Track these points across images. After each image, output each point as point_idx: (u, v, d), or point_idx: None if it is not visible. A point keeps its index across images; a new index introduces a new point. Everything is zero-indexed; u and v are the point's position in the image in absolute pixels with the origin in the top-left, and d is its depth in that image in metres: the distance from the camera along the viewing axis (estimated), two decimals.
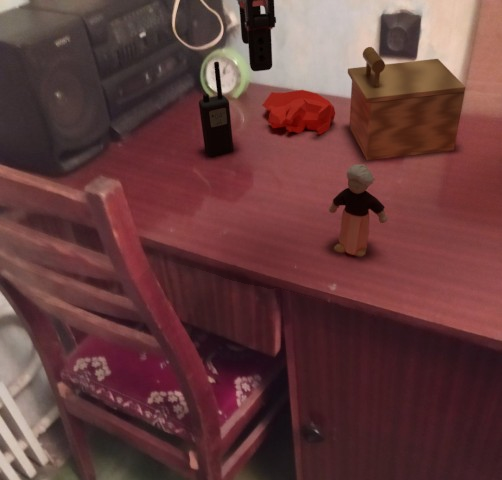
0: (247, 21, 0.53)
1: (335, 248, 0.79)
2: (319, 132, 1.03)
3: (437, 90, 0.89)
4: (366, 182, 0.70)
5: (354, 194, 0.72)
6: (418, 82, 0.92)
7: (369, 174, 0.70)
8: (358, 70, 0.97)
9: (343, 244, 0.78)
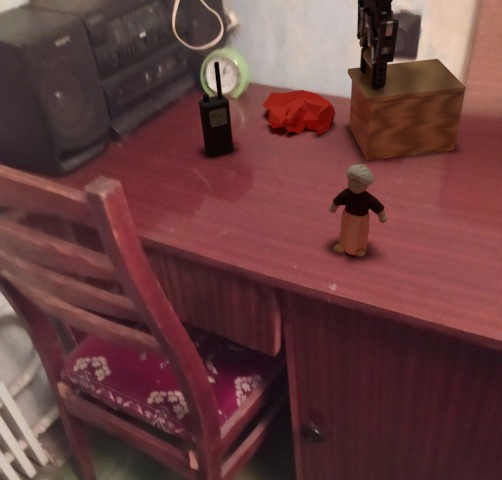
0: (376, 58, 0.85)
1: (335, 248, 0.79)
2: (319, 132, 1.03)
3: (437, 90, 0.89)
4: (366, 182, 0.70)
5: (354, 194, 0.72)
6: (418, 82, 0.92)
7: (369, 174, 0.70)
8: (358, 70, 0.97)
9: (343, 244, 0.78)
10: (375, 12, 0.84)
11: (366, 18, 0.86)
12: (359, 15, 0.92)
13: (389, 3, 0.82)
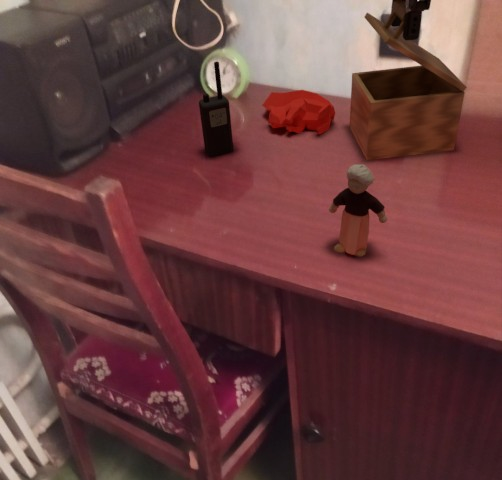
0: (411, 5, 0.81)
1: (335, 248, 0.79)
2: (319, 132, 1.03)
3: (445, 74, 0.88)
4: (366, 182, 0.70)
5: (354, 194, 0.72)
6: (429, 59, 0.89)
7: (369, 174, 0.70)
8: (376, 19, 0.92)
9: (343, 244, 0.78)
10: None
11: None
12: None
13: None
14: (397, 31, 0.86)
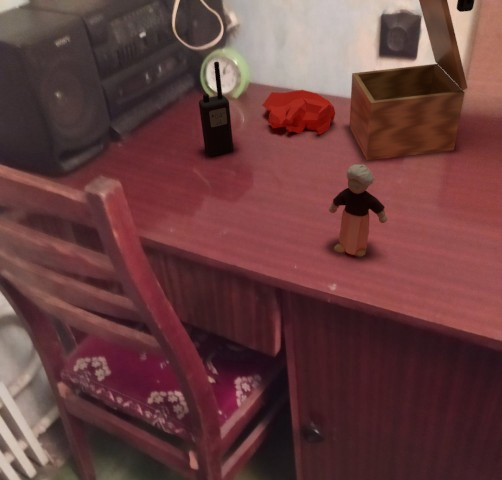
0: None
1: (335, 248, 0.79)
2: (319, 132, 1.03)
3: (461, 62, 0.87)
4: (366, 182, 0.70)
5: (354, 194, 0.72)
6: None
7: (369, 174, 0.70)
8: None
9: (343, 244, 0.78)
10: None
11: None
12: None
13: None
14: None
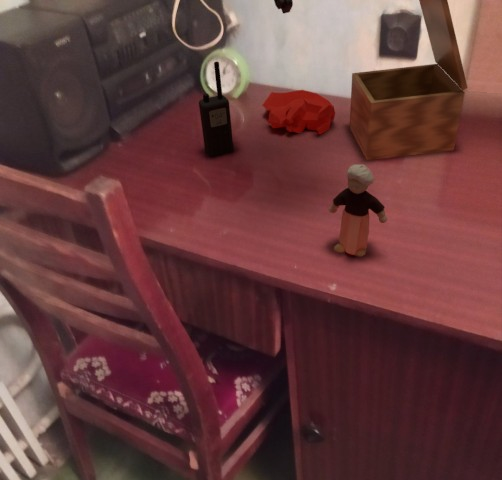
0: None
1: (335, 248, 0.79)
2: (319, 132, 1.03)
3: (461, 62, 0.87)
4: (366, 182, 0.70)
5: (354, 194, 0.72)
6: None
7: (369, 174, 0.70)
8: None
9: (343, 244, 0.78)
10: None
11: None
12: None
13: None
14: None
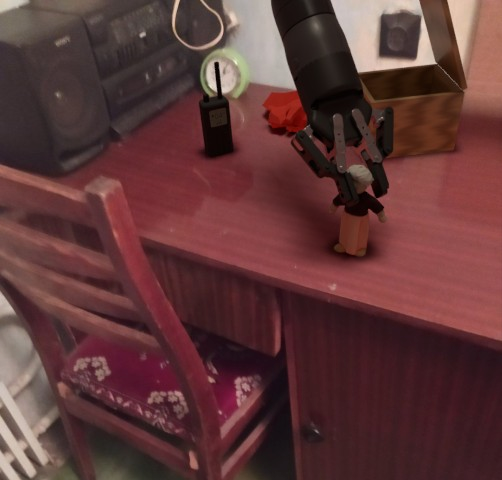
0: (390, 147, 0.71)
1: (335, 248, 0.79)
2: None
3: (461, 62, 0.87)
4: (365, 182, 0.70)
5: None
6: None
7: (368, 174, 0.70)
8: None
9: (343, 244, 0.78)
10: (362, 105, 0.71)
11: (358, 113, 0.70)
12: None
13: None
14: None
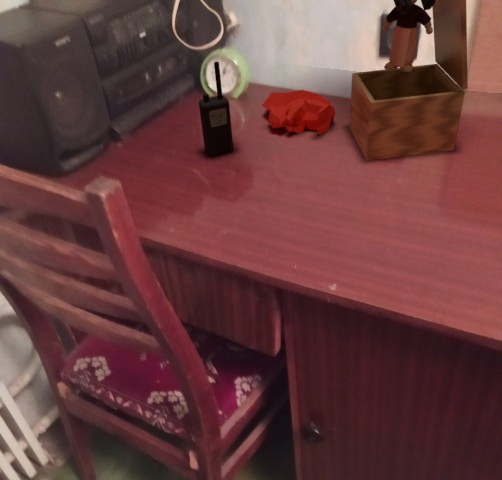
0: None
1: (386, 65, 0.92)
2: (319, 132, 1.03)
3: (466, 60, 0.86)
4: None
5: None
6: None
7: None
8: None
9: (393, 60, 0.92)
10: None
11: None
12: None
13: None
14: None
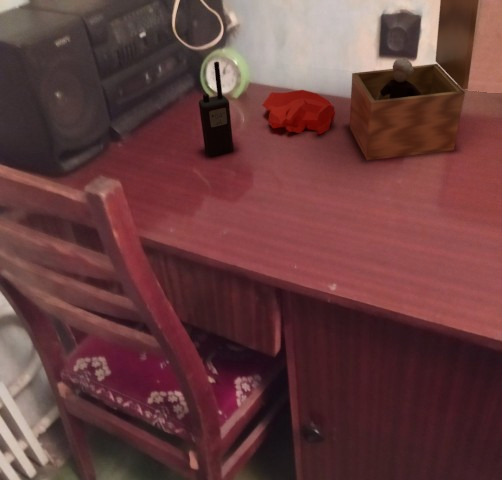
0: None
1: None
2: (319, 132, 1.03)
3: (470, 59, 0.86)
4: (408, 71, 0.92)
5: (397, 83, 0.94)
6: None
7: (410, 65, 0.92)
8: None
9: None
10: None
11: None
12: None
13: None
14: None
